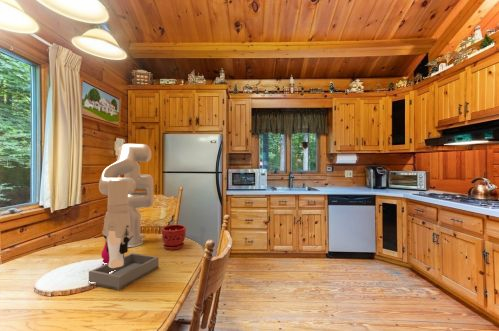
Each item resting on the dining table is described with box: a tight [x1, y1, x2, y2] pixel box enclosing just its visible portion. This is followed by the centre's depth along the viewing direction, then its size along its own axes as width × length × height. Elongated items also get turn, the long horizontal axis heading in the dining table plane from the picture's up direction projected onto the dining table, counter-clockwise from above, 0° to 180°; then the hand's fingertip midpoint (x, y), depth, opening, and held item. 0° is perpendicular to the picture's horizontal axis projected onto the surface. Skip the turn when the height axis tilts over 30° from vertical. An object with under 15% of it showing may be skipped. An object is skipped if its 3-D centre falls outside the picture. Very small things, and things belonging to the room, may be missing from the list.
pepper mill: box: [101, 238, 109, 263], centre depth 119 cm, size 7×7×20 cm
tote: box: [88, 252, 160, 291], centre depth 105 cm, size 22×15×5 cm
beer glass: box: [107, 230, 125, 268], centre depth 101 cm, size 7×7×15 cm
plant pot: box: [161, 224, 187, 251], centre depth 142 cm, size 13×13×12 cm
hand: (117, 251), depth 101 cm, fingers closed on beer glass, 6 cm apart
